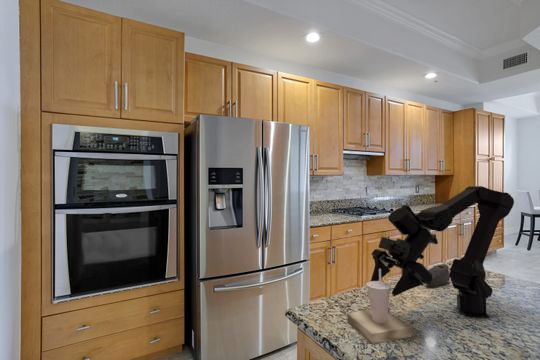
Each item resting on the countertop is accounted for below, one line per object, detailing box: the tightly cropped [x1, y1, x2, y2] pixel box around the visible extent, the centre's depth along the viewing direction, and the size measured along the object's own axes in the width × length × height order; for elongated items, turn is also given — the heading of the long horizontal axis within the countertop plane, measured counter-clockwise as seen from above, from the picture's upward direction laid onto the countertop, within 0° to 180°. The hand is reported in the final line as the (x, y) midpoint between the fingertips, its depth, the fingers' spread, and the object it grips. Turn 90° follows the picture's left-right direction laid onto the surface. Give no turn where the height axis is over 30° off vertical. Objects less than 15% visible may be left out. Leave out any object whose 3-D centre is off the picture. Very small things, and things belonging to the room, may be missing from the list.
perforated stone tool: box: [425, 263, 451, 288], centre depth 111 cm, size 15×5×7 cm, turn 119°
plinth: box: [346, 309, 413, 345], centre depth 78 cm, size 12×12×2 cm
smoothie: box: [366, 269, 392, 324], centre depth 78 cm, size 6×6×14 cm
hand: (381, 288), depth 79 cm, fingers open, 9 cm apart
